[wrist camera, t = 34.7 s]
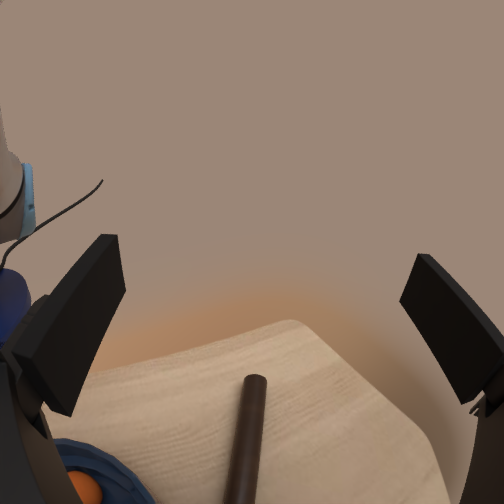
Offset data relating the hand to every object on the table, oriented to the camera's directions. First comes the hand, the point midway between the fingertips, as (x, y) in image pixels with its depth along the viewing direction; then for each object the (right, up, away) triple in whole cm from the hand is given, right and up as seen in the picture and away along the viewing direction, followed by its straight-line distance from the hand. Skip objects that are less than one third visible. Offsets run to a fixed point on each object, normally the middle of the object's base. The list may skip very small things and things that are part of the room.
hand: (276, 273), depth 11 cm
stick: (-1, -14, +18) cm, 23 cm away
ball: (-16, -19, +2) cm, 25 cm away
